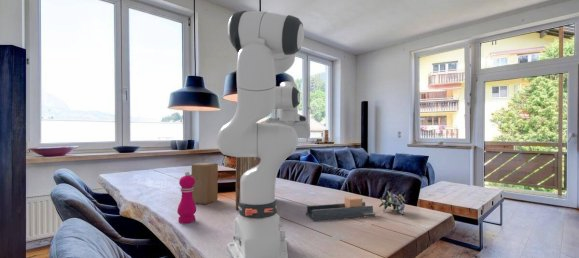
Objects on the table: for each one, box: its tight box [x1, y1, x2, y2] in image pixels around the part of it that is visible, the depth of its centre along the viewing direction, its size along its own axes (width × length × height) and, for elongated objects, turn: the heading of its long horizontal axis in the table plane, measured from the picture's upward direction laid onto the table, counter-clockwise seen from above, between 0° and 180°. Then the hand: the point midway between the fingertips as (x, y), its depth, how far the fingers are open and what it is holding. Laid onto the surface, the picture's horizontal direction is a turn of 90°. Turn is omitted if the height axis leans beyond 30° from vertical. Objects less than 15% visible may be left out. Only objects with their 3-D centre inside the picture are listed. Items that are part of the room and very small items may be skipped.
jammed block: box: [344, 195, 363, 208], centre depth 117 cm, size 6×5×6 cm
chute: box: [305, 201, 376, 222], centre depth 115 cm, size 28×10×4 cm, turn 104°
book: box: [235, 157, 261, 211], centre depth 134 cm, size 25×9×30 cm, turn 166°
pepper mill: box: [177, 171, 197, 224], centre depth 107 cm, size 7×7×20 cm
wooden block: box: [191, 162, 219, 205], centre depth 137 cm, size 10×10×20 cm
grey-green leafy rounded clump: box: [378, 190, 407, 215], centre depth 119 cm, size 11×11×12 cm
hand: (288, 148), depth 120 cm, fingers closed
